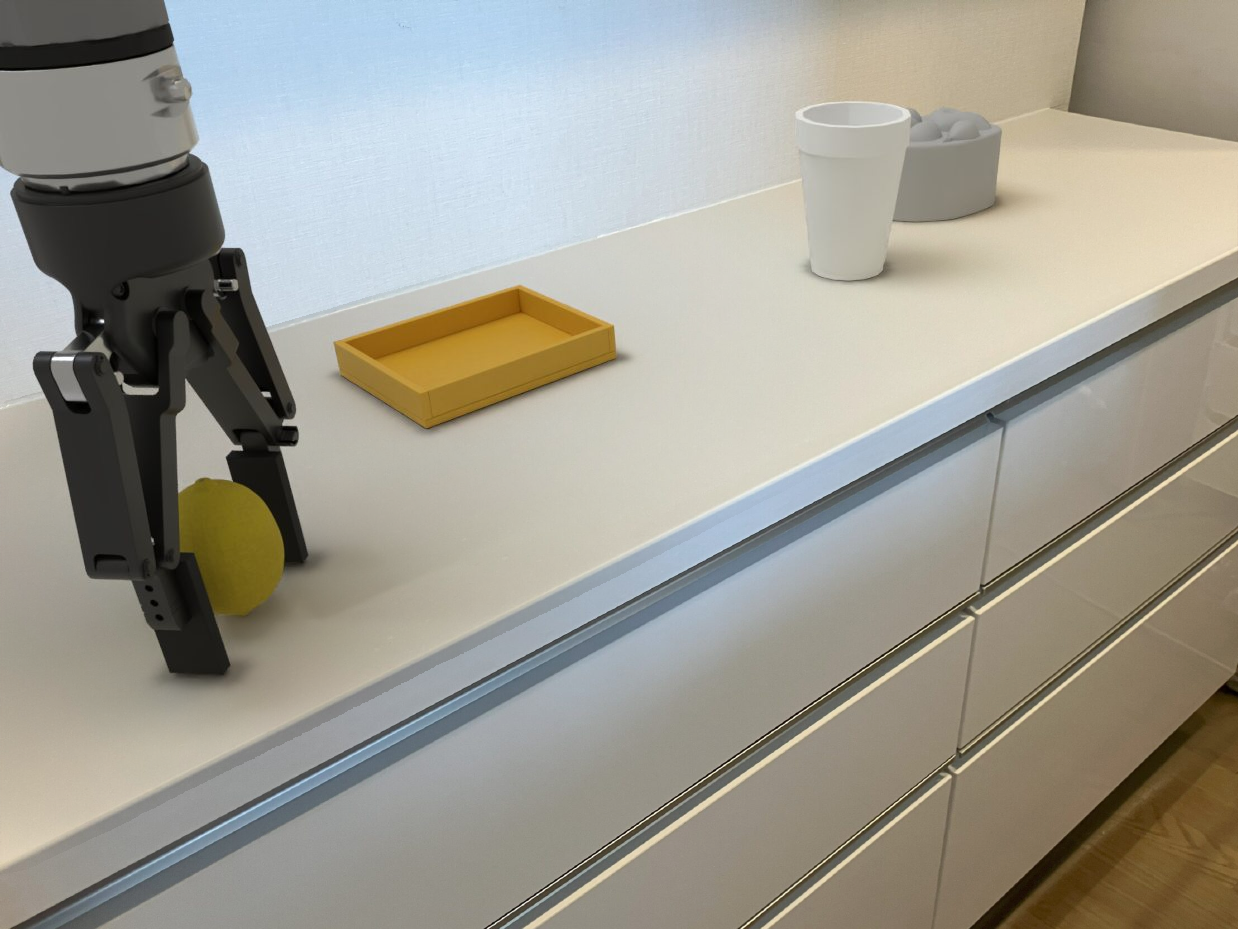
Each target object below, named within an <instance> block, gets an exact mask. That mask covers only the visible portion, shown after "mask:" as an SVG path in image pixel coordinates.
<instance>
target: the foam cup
mask: <svg viewBox="0 0 1238 929" xmlns="http://www.w3.org/2000/svg"><path fill="white" fill-rule="evenodd" d="M905 108H906V107H901V106H899V105H896V104H891V103H883V102H877V101H861V100H860V101H858V100H855V101H854V100H847V101H845V100H843V101H831V102H822V103H817V104H811V105H807V106H804V107H802V108H800V109H798V110H797V111H795V115H794V116H795V119H794V120H795V122H794V124H795V125H794V126H795V128H794V129H795V130H794V131H795V132H794V143H795V148H796V149H798V159H799V167H800V177H801V178H800V179H801V187H802V196H803V204H804V214H805V225H806V232H807V243H808V251H809V260H810V267H811V268H810V269H811V272H812V273H813V274H815V275H817V276H818V277H821V278H825V279H829V280H835V281H846V282H847V281H849V282H850V281H861V280H867V279H870V278H873V277H876V276H878V275H879V274H881V273H882V272H883V271H884V264H885V263H886V258H887V253H888V252H887V251H888V246H889V242H890V237H891V231H892V225H893V221H894V220H893V216H894V210H895V205H896V200H897V195H898V189H899V184H900V179H901V174H902V168H903V163H904V158H905V152H906V147H908V146H909V142H910V126H911V114H910V112H909V110H907V109H905Z"/></svg>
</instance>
